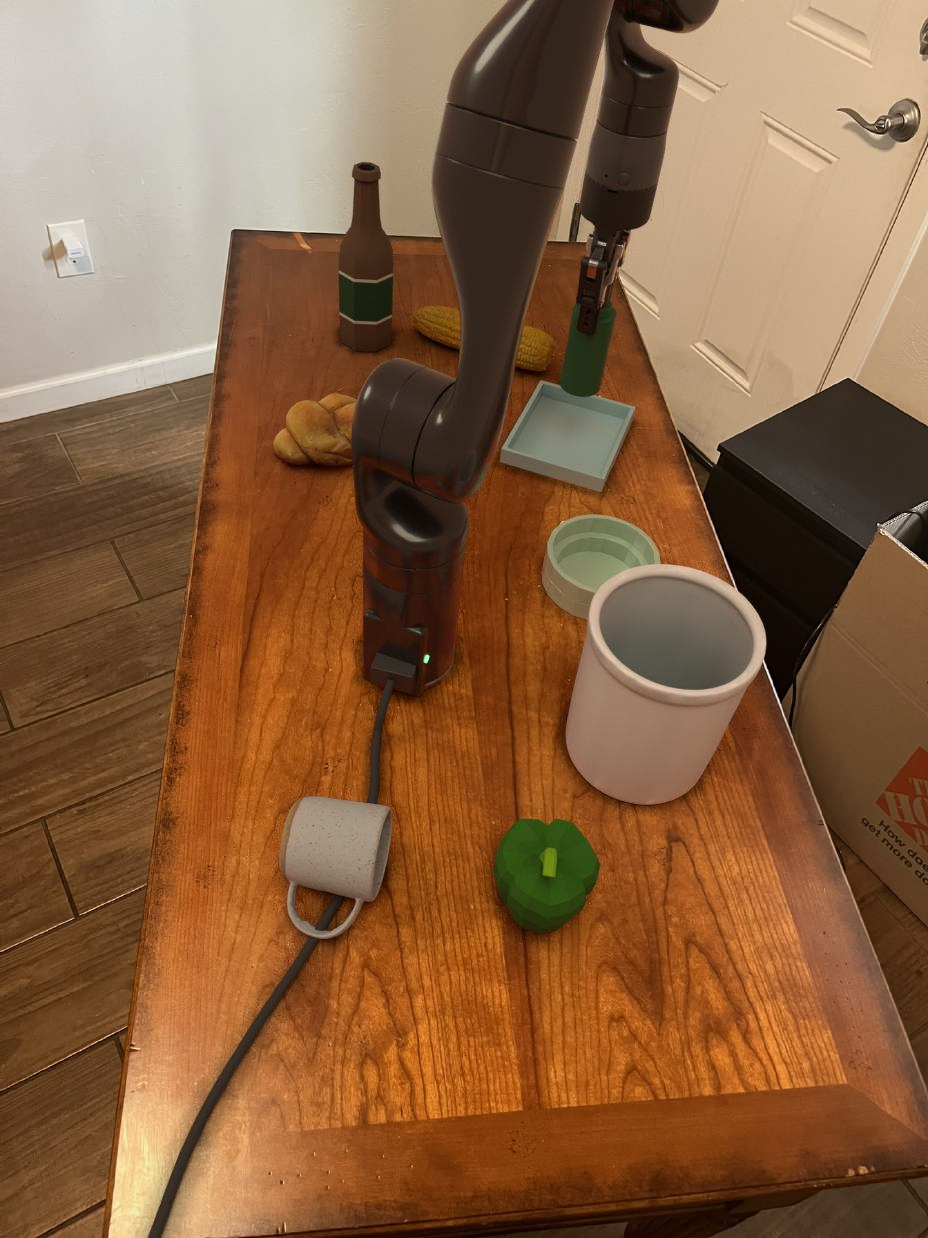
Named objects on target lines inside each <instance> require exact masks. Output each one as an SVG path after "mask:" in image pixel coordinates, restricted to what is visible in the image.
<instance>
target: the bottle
mask: <svg viewBox="0 0 928 1238" xmlns="http://www.w3.org/2000/svg"><path fill="white" fill-rule="evenodd" d="M611 288H612V284H610V285H608V286H607V289H606V293H605V296H604V299H605V300H604V303H603V304H602V307H601V312H600V317H599V322H598V326H597V330H596V332H595V334H594V335H588V334H585V333H581V332H579V331H578V330H577V323H578V317H579V312H580V307H581V305H579V304H576V303H574V305H573V307H572V314H571V318H570V323H569V327H568V333H567V334H568V335H567V340H566V345H565V349H564V355H563V361H562V367H561V374H560V376H559V377H560V379H559V385H560V386H561V388H562V389H563V390H564V391H565V392H567V393H569V394H571V395H574V396H578V397H589V396H593V395H595V396H596V395H597V394H598V393H599V392H600V390H601V386H602V382H603V378H604V373H605V368H606V364H607V361H608V356H609V351H610V346H611V343H612V337H613V332H614V329H615V324H616V319H617V311H616V309H615V308H614V307H613V302H612V300H611V301H610V300H609V297H610V293H611ZM588 291H589V290H588ZM589 292H592V291H589ZM593 293H594V292H593Z"/></svg>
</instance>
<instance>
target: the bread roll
mask: <svg viewBox="0 0 928 1238" xmlns="http://www.w3.org/2000/svg"><path fill="white" fill-rule="evenodd" d="M356 402H357V399H356V398H354V397H352V396H350V395H347V394H341V393H338V392H332V393H330V394H328V395H326V396H325V397H323V398H322V399H320V400H318V402H317V401H314V400H311V399H305V400H301V401H298V402H296V403H295V404H294V405H292V406H291V407H290V408H289V410H288V412H287V413H286V416H285V427H284V428H282V429H280V431H279V432H278V433H277V434H276V435H275V437H274V439H273V441H272V442H273V443H272V447H273V450H274V453H275V455H276V456H277V457H278V458H279V459H280V460H281V461H283V462H286V463H288V464H290V465H295V466H306V465H307V466H309V465H313V464H316V465H319V466H324V467H347V466H350V465H352V450H351V434H352V421H353V415H354V410H355V406H356Z"/></svg>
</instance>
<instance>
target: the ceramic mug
mask: <svg viewBox="0 0 928 1238" xmlns="http://www.w3.org/2000/svg"><path fill="white" fill-rule="evenodd" d="M282 829H283V830H282V833H281V837H280V844H279V852H278V869H279V872H280V874H281V876H282V877H283V879H285V880H287V881H288V883H289V887H288V891H287V899H286V906H287V907H286V908H287V913H288V916H289V919H290V920H291V922H292V924H293V925H294V927H295V928H296V929H297V930H298V931H299V932H301V933H302V934H305V935H307V936H309V937H310V936H311V937H314V938H319V940H326V939H327V940H328V939H332V938H336V937H339V936H340V935H342V934H343V933H344V932H346V931H348V929H350V928H351V926H352V925H353V923H354V922H355V921H356V919H357V917H358V915H359V913H360V911H361V909H362V906H363V904H364V902H368V903H372V902H374V901H375V899H376V898H377V896H378V894H379V892H380V890H381V885H382V882H383V879H384V875H385V871H386V867H387V864H388V858H389V852H390V847H391V840H392V835H393V834H392V833H393V811H392V808H391V807H390V806H388V805H386V804H378V803H377V804H370V803H367V802H362V801H355V800H347V799H339V798H334V797H329V796H320V795H319V796H318V795H315V796H314V795H313V796H303V797H300V798H298V799H297V800H296V801H295V802H294V803H293V804H292V805H291V807H290V809H289V811H288V813H287V815H286V819H285V821H284V825H283V828H282ZM298 886H300V887H304V888H308V889H313V890H317V891H323V892H327V893H331V894H333V895H334V894H337V895H340V896H344V897H346V898H350V899H353V900H355V904H354V906H353V909H352V910H351V912H350V913H349V915H348V917H346V920H344V921H343V922H342V924H340V925H339V926H337V927H336V928H333V930H327V929H325V930H324V931H318V930H315V927H316V926H314V925H313V924H311V923H310V922H309V921H308V920H302V919H301V918H300V917H299V916H298V912H297V911H296V894H297V889H298Z"/></svg>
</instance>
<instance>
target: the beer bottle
mask: <svg viewBox="0 0 928 1238" xmlns="http://www.w3.org/2000/svg"><path fill="white" fill-rule="evenodd" d="M381 175H382V173H381V168H380V165H378V164H376V163H374V162H369V161H361V162H358V163H355V164H353V167H352V171H351V177H352V178H353V179H354V181H353V197H352V198H353V199H352V201H353V202H352V216H351V223H350V226H349V228H348V229H347V231H346V232H345V234H344V235H343V237H342V240H341V243H340V246H339V254H338V255H339V256H338V311H339V313H338V314H339V316H338V317H339V335H340V336H339V337H340V343H342V344H343V345H344V346H346V347H348V348H349V349H351V350H353V351H354V352H360V353H361V352H362V353H363V352H364V353H376V352H379V351H380V350H383V349H384V348H385V349H386V347H389V346H390V345H391V343H392V333H393V330H392V329H393V294H394V249H393V246H392V242H391V239H390V237H389V236H388V234H387V233H386V231H385V230H384V228H383V226H382V220H381V207H380V206H381V205H380V184H379V182H380V181H379V180H381V179H382V177H381Z"/></svg>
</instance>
